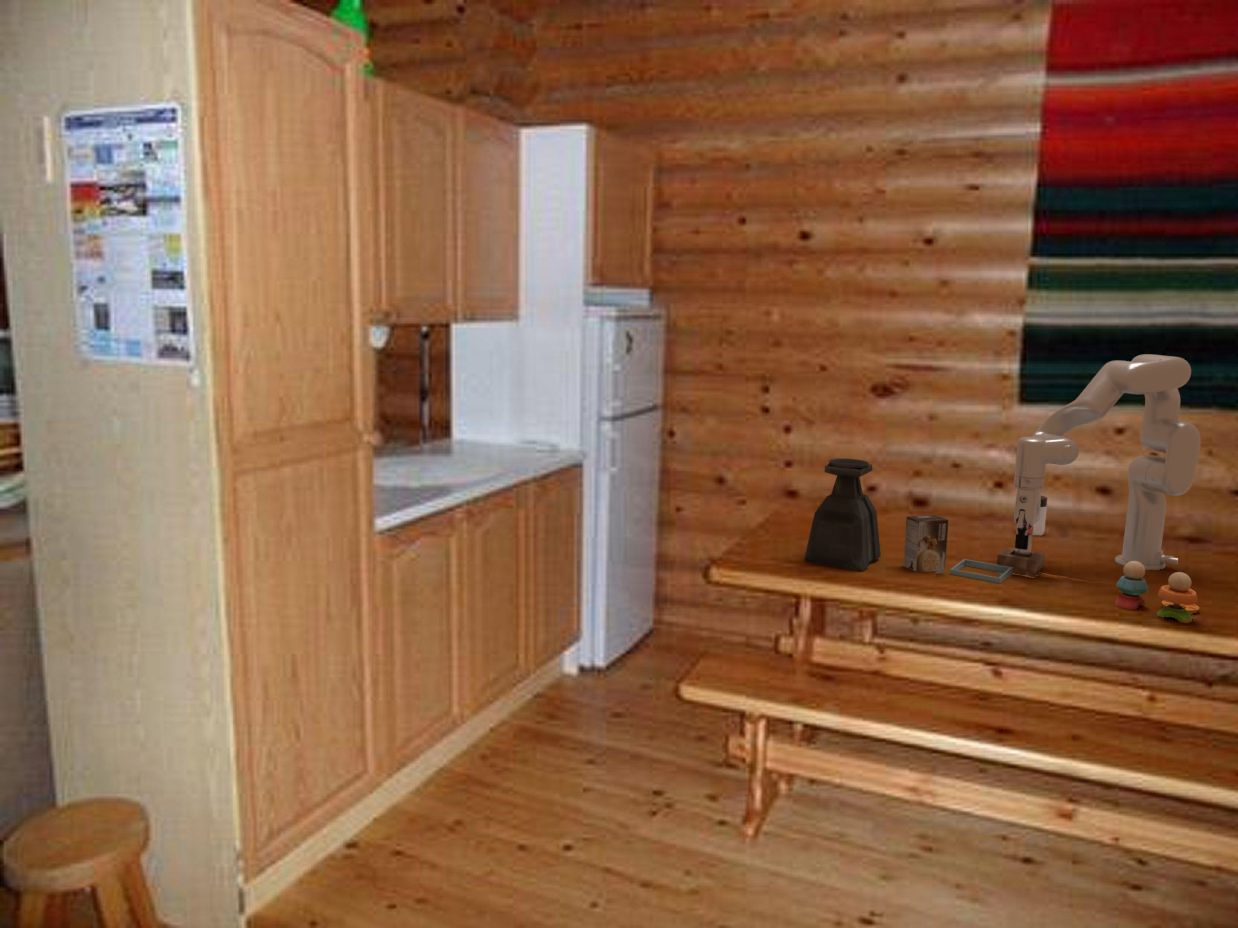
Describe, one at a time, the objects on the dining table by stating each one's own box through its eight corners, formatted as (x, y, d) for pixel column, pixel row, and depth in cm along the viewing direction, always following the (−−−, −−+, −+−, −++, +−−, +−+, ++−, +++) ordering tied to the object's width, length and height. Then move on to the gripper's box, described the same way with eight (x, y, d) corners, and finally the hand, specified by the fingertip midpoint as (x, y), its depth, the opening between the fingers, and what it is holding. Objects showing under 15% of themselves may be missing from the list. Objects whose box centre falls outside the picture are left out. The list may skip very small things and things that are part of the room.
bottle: (824, 556, 273) (830, 454, 268) (880, 565, 265) (888, 460, 260) (802, 571, 258) (808, 463, 253) (861, 581, 250) (869, 470, 245)
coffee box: (931, 570, 261) (935, 514, 258) (945, 577, 255) (949, 519, 252) (901, 572, 258) (906, 515, 256) (915, 579, 252) (919, 521, 250)
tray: (1011, 576, 257) (1012, 567, 257) (999, 587, 247) (1000, 578, 246) (963, 567, 265) (963, 558, 264) (949, 578, 254) (949, 569, 254)
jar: (1010, 530, 308) (1013, 495, 306) (1027, 528, 312) (1030, 492, 310) (1033, 537, 300) (1037, 500, 298) (1050, 534, 304) (1054, 498, 302)
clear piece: (1030, 568, 262) (1035, 526, 260) (1026, 571, 259) (1031, 529, 257) (1015, 565, 265) (1020, 523, 263) (1011, 568, 262) (1015, 526, 259)
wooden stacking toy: (1208, 614, 229) (1214, 565, 227) (1188, 631, 217) (1195, 579, 215) (1127, 597, 241) (1133, 550, 239) (1104, 612, 229) (1110, 562, 227)
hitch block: (1042, 570, 263) (1044, 553, 262) (1034, 578, 255) (1036, 560, 254) (1005, 563, 269) (1006, 546, 268) (996, 571, 261) (997, 554, 260)
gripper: (1036, 489, 249) (1030, 556, 252) (1050, 479, 262) (1044, 542, 265) (1006, 485, 253) (1001, 551, 256) (1021, 475, 266) (1016, 538, 270)
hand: (1023, 546), depth 261 cm, fingers closed on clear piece, 4 cm apart
